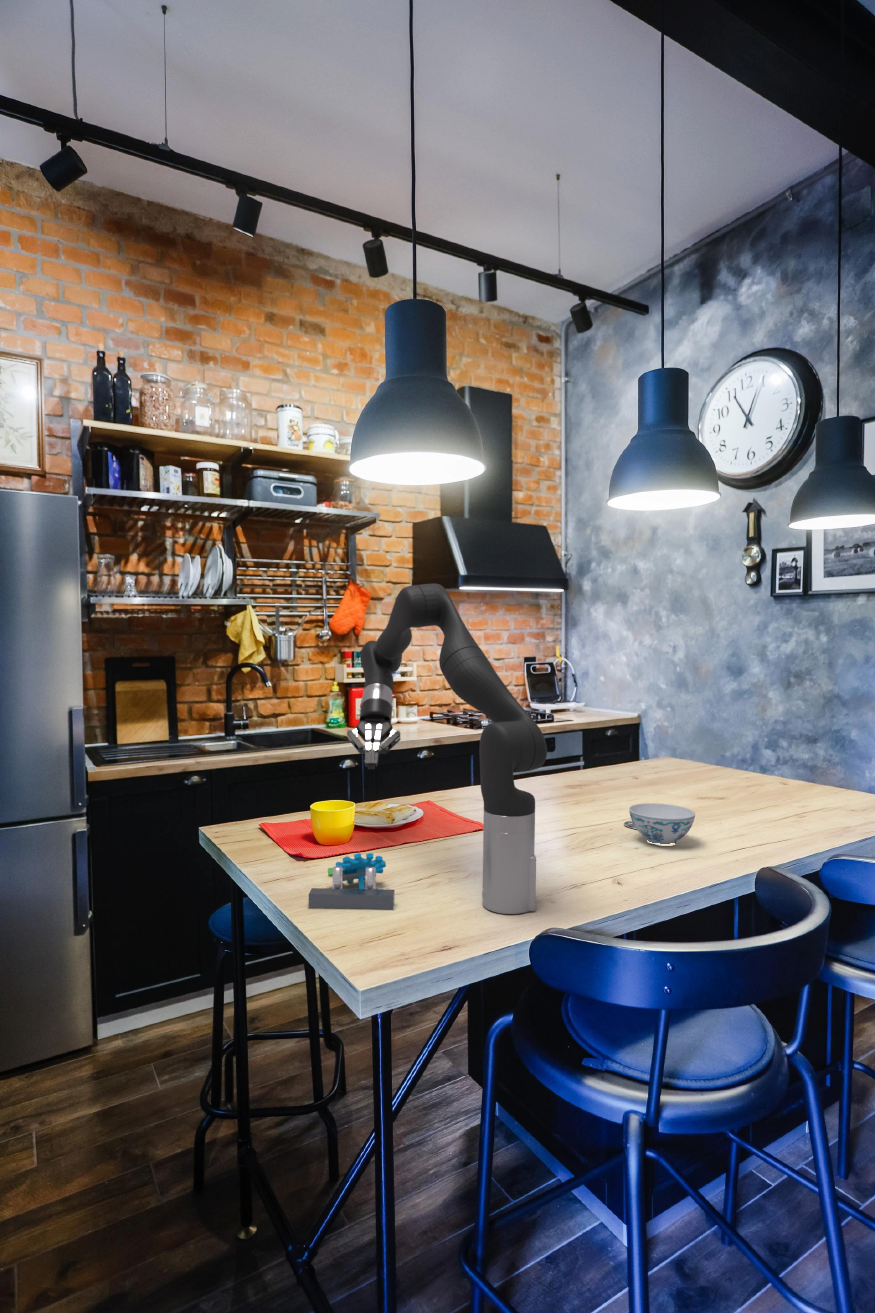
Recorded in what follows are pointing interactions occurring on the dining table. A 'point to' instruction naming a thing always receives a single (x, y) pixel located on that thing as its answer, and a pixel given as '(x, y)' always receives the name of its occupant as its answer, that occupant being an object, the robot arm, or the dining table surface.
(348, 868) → the blue bumpy piece
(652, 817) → the chinaware
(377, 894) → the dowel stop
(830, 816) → the dining table surface
